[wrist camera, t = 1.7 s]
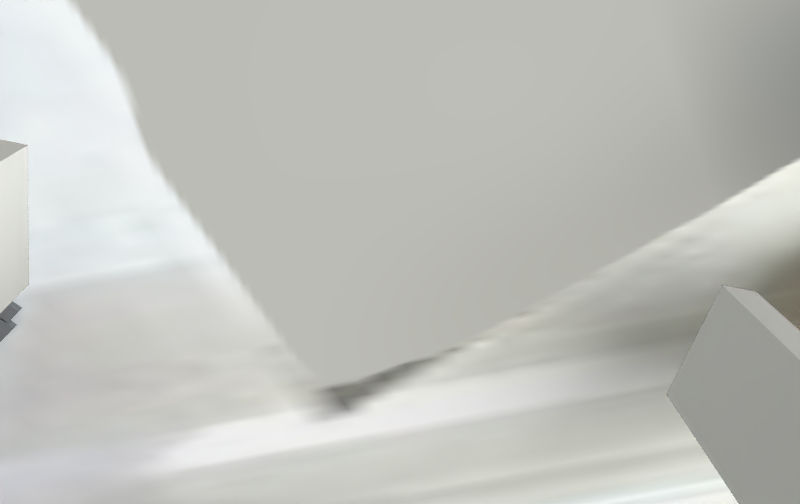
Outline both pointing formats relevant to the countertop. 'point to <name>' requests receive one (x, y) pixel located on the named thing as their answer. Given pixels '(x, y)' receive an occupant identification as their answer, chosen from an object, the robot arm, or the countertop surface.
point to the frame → (7, 319)
